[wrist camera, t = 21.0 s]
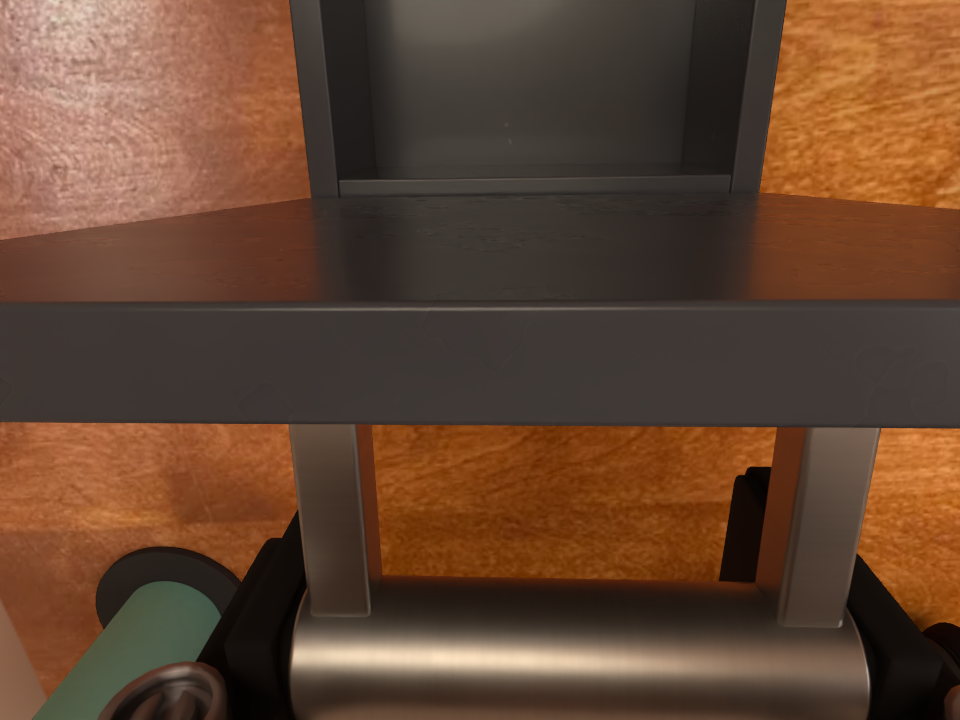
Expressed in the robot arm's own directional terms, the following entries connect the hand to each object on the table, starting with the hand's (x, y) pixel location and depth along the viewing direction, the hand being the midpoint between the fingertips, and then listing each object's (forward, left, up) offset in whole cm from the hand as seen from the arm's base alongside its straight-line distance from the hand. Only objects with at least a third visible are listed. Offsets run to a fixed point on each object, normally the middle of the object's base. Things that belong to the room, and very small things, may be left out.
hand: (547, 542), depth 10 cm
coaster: (-13, -24, -18) cm, 32 cm away
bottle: (-13, -24, -17) cm, 32 cm away
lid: (-2, +5, -3) cm, 6 cm away
